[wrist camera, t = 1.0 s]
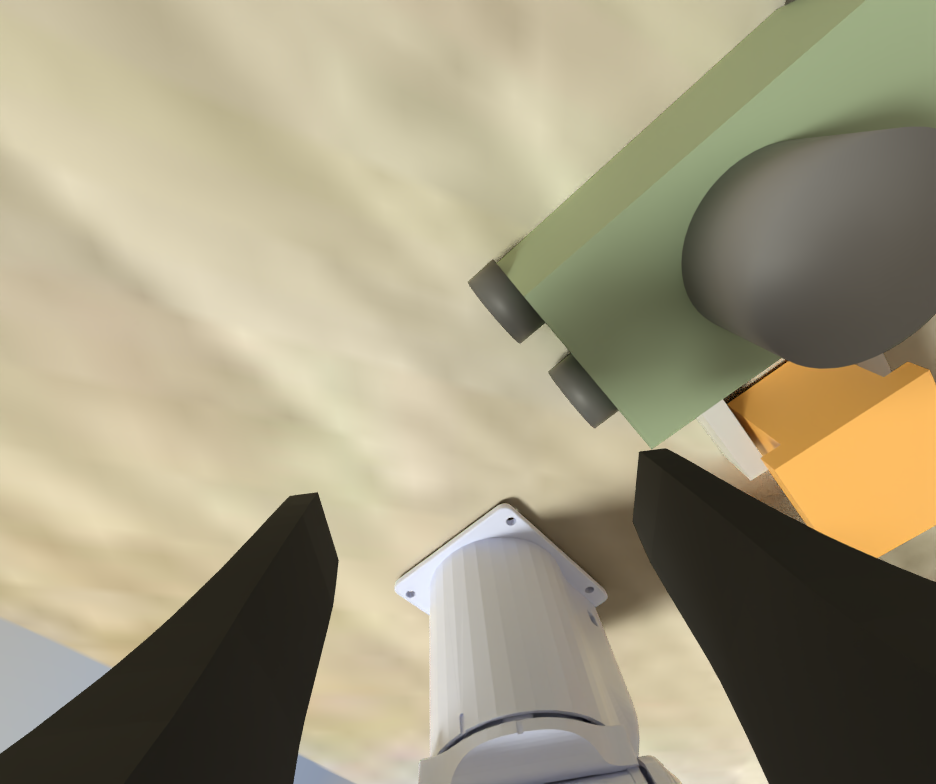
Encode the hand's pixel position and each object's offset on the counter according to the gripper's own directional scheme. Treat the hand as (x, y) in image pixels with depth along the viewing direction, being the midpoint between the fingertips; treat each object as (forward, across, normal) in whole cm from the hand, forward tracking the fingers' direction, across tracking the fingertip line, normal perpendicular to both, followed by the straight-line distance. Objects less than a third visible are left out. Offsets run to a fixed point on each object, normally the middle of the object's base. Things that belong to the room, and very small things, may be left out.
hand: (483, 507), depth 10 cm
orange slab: (+9, -16, +6) cm, 20 cm away
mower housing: (+10, -11, -1) cm, 15 cm away
